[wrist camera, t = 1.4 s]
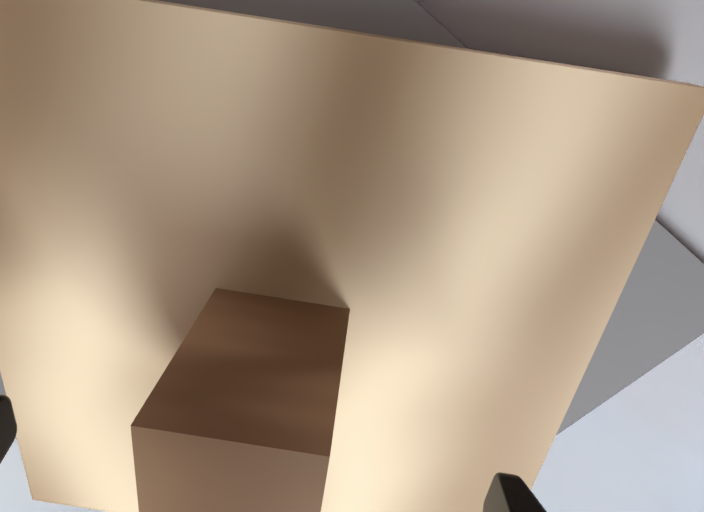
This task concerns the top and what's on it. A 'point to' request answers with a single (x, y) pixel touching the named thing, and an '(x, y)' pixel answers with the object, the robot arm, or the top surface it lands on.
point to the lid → (305, 255)
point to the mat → (648, 271)
